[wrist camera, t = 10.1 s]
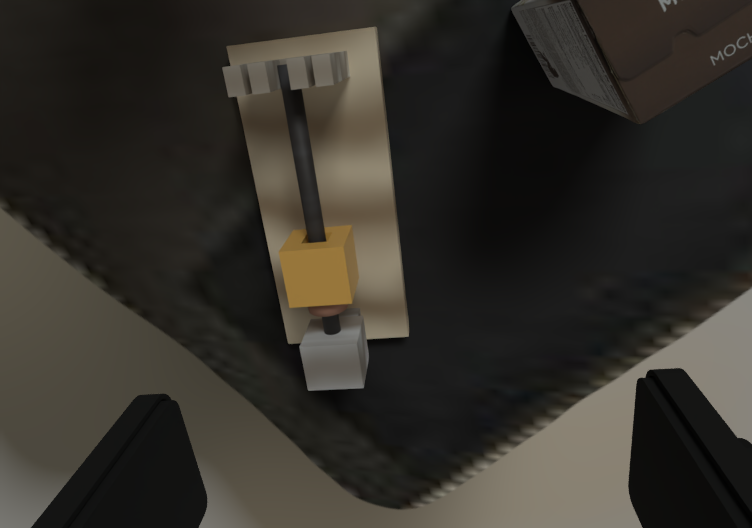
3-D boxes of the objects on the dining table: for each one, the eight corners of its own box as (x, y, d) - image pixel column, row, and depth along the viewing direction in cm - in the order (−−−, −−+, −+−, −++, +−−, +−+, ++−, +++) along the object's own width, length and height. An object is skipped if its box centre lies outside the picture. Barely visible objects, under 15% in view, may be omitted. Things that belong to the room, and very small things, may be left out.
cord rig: (233, 45, 37) (182, 48, 29) (376, 27, 36) (363, 24, 28) (292, 335, 46) (265, 397, 38) (409, 328, 44) (405, 391, 37)
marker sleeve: (293, 230, 38) (278, 252, 34) (351, 225, 37) (343, 246, 33) (302, 281, 39) (289, 307, 35) (359, 277, 39) (352, 303, 35)
